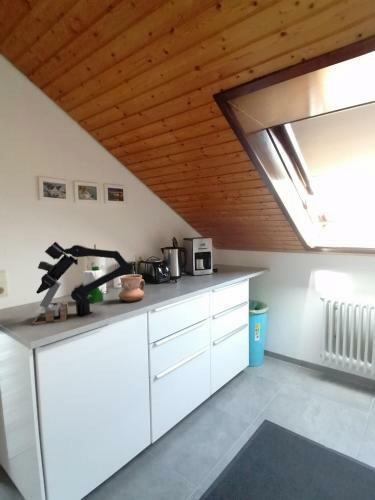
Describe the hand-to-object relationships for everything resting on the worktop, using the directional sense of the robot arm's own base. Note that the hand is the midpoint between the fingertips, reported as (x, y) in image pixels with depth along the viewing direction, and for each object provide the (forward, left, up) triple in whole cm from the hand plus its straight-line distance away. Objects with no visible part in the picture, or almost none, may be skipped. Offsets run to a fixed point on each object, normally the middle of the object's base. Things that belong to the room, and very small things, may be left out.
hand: (38, 291), depth 135 cm
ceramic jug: (-15, -46, -14) cm, 51 cm away
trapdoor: (-2, -3, -11) cm, 12 cm away
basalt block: (-1, -1, -7) cm, 7 cm away
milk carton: (+4, -34, -14) cm, 37 cm away
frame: (-3, -3, -14) cm, 14 cm away
